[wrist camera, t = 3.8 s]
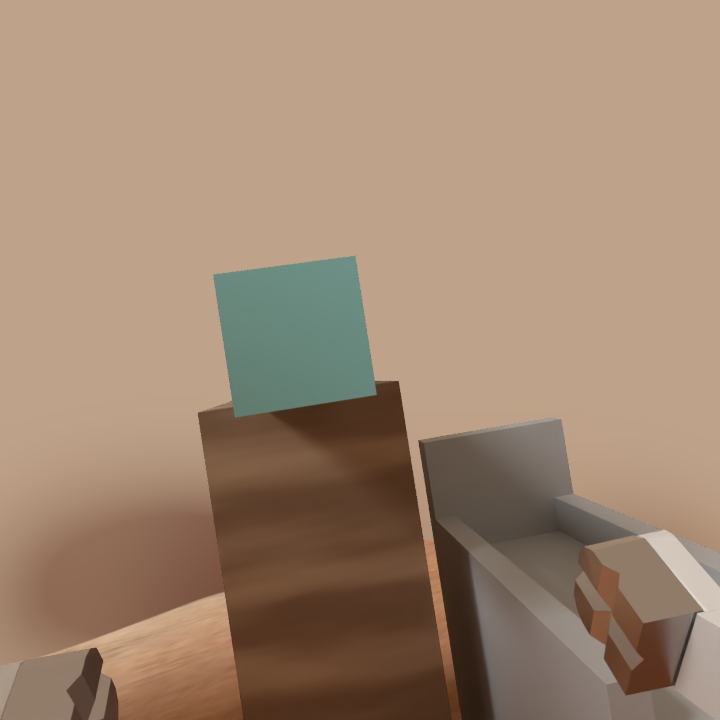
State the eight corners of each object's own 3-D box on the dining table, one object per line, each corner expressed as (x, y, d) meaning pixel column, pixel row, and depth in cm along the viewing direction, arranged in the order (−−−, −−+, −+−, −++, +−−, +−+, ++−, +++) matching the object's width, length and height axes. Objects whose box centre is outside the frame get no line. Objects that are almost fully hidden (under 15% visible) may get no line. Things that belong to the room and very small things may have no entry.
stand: (488, 956, 27) (398, 381, 27) (287, 1012, 26) (197, 412, 26) (415, 741, 43) (359, 380, 43) (289, 770, 42) (233, 400, 42)
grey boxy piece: (992, 1246, 17) (860, 462, 17) (713, 1352, 16) (579, 516, 16) (606, 769, 37) (550, 417, 37) (474, 802, 36) (418, 440, 36)
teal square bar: (376, 394, 17) (355, 256, 17) (235, 417, 16) (213, 274, 17) (325, 386, 43) (316, 330, 43) (269, 394, 42) (261, 339, 42)
